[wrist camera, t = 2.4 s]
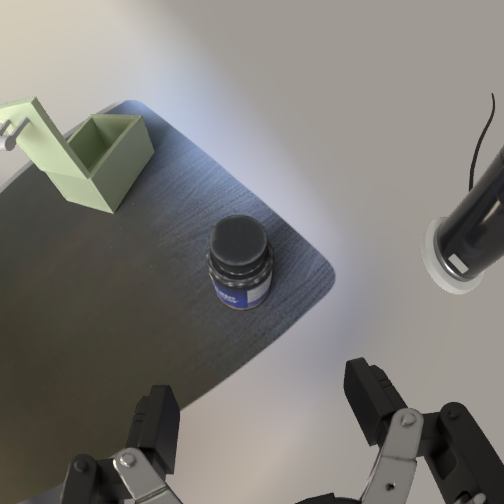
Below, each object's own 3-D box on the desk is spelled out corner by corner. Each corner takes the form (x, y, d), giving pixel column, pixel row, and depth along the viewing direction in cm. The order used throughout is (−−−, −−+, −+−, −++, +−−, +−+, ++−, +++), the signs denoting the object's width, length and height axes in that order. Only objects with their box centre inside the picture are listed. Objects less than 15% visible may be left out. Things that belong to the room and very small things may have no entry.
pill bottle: (205, 283, 33) (184, 235, 23) (245, 252, 34) (241, 194, 25) (240, 323, 30) (233, 290, 21) (281, 288, 32) (292, 240, 22)
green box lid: (-5, 105, 19) (-29, 137, 18) (36, 96, 18) (4, 135, 16) (43, 165, 32) (26, 193, 30) (91, 174, 30) (71, 207, 28)
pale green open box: (106, 146, 45) (91, 114, 38) (155, 152, 43) (142, 115, 36) (66, 200, 39) (43, 170, 32) (114, 214, 37) (90, 179, 30)
